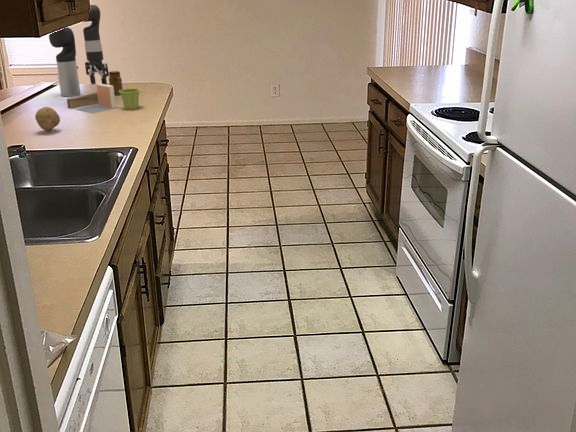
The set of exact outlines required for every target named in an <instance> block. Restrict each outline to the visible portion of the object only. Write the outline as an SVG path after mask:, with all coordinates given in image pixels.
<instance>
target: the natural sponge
mask: <svg viewBox="0 0 576 432" xmlns="http://www.w3.org/2000/svg"><path fill="white" fill-rule="evenodd" d="M35 120H36V122H37V125H38V126H39V127H40V129H41V130H43V131H45V132H46V133H47V132H48V133H49V132H51V131H53V130H54V129H55V127H57V126H59V124H60V122H61V117H60V115H59V113H58V112H57V111H56V109H54V108H52V107H48V106H43V107H42V108H39V109H38V110H37V111H36V113H35Z"/></svg>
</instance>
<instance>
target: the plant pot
mask: <svg viewBox="0 0 576 432" xmlns="http://www.w3.org/2000/svg"><path fill="white" fill-rule="evenodd" d="M140 91H141V89H140V88H132V87H131V88H123V90H120V91H119V92H120V94H121V95H120V96H121V99H122V103H123V107H124V109H125V110H137V109H138V108H139V105H140V103H139V101H140V100H139V99H140V97H139V95H140ZM136 108H137V109H136Z"/></svg>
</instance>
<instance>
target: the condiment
mask: <svg viewBox="0 0 576 432" xmlns="http://www.w3.org/2000/svg"><path fill="white" fill-rule="evenodd" d="M108 72H109V76H108V81H109V85H111V86H113V88H114V96H115V97H116V96H121V94H120V92H119V91H120V90H123V89H124V88H123V83H122V82H123V81H122V77H121V72H120V71H118V70H114V71H113V70H112V71H108Z"/></svg>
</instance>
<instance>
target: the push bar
mask: <svg viewBox="0 0 576 432" xmlns="http://www.w3.org/2000/svg"><path fill="white" fill-rule="evenodd" d="M66 104H67V108H68V109H71V110H72V109H79V108H83V107H87V106H92V105H96V104H99V102H98V94H97V92H93V93H89V94H82V95H77V96H73V97H69V98H66Z"/></svg>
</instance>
